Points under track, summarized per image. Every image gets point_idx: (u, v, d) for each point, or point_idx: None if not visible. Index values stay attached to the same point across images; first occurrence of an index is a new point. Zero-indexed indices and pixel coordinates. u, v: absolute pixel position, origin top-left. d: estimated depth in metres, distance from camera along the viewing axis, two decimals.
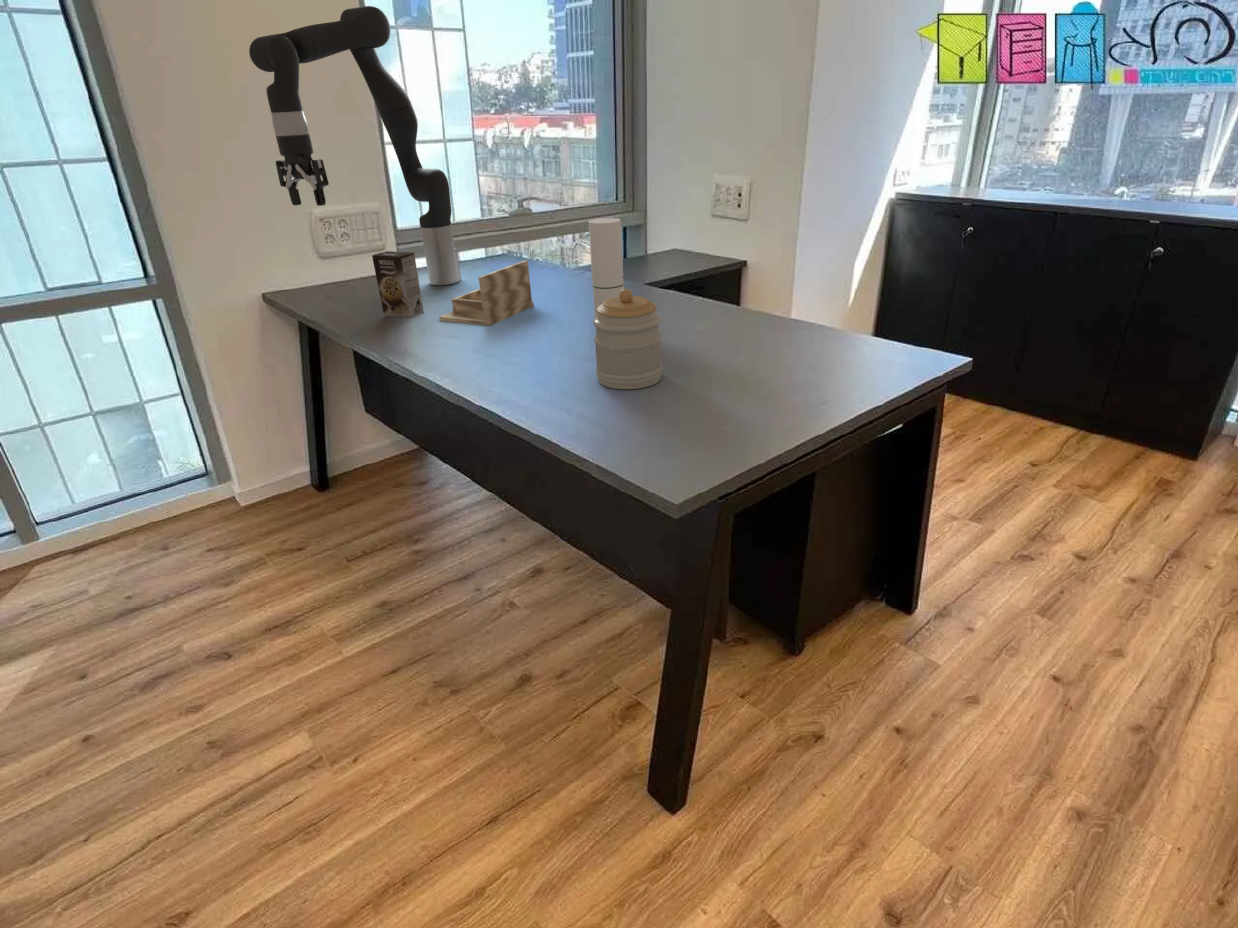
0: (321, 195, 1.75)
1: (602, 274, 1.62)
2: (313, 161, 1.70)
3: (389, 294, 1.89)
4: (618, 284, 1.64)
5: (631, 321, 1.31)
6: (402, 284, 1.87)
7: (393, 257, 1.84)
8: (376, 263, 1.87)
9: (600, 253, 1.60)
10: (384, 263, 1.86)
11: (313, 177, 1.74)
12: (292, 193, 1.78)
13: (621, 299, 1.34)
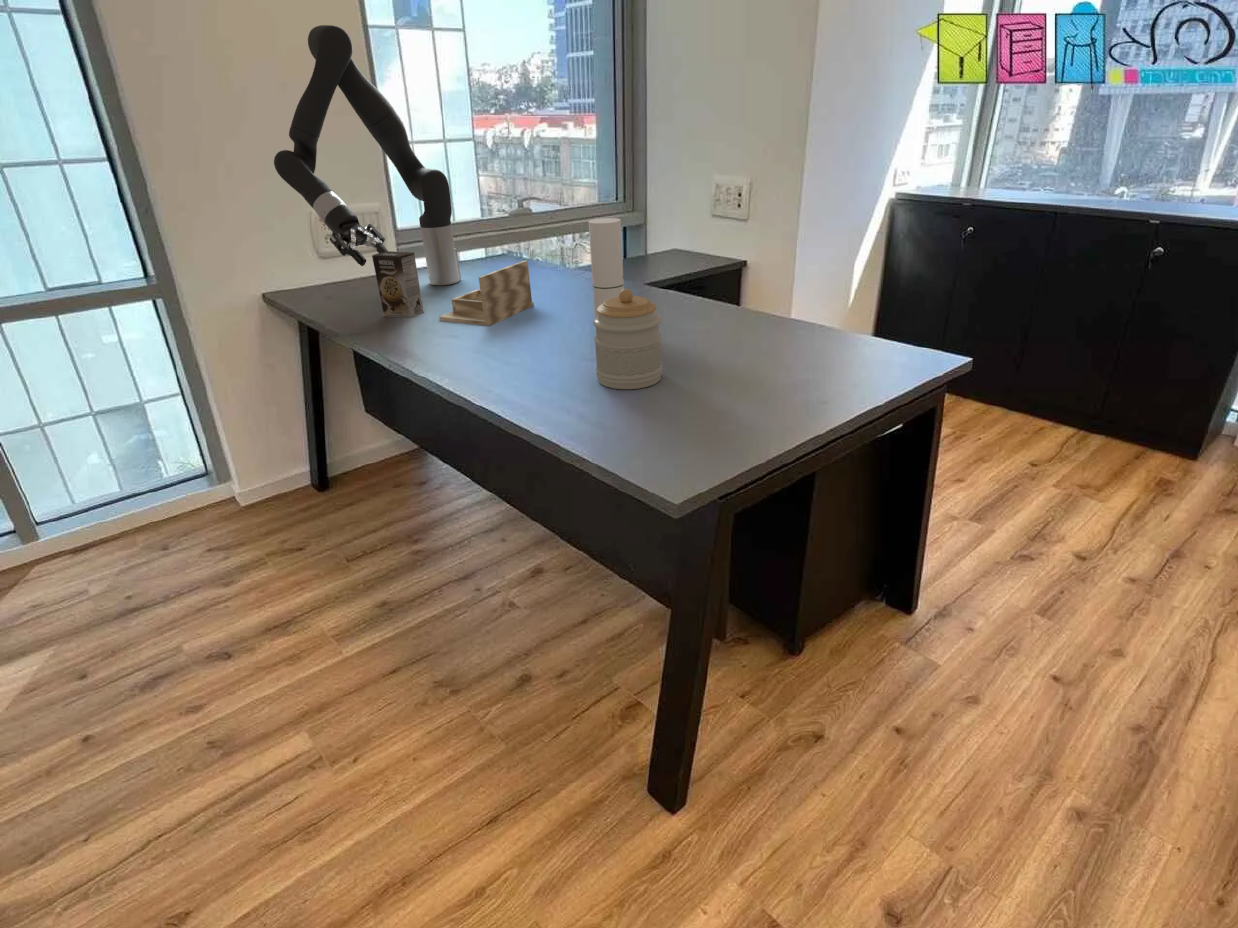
0: (355, 258, 1.87)
1: (602, 274, 1.62)
2: None
3: (389, 294, 1.89)
4: (618, 284, 1.64)
5: (631, 321, 1.31)
6: (402, 284, 1.87)
7: (393, 257, 1.84)
8: (376, 263, 1.87)
9: (600, 253, 1.60)
10: (384, 263, 1.86)
11: (348, 245, 1.88)
12: (378, 251, 1.94)
13: (621, 299, 1.34)
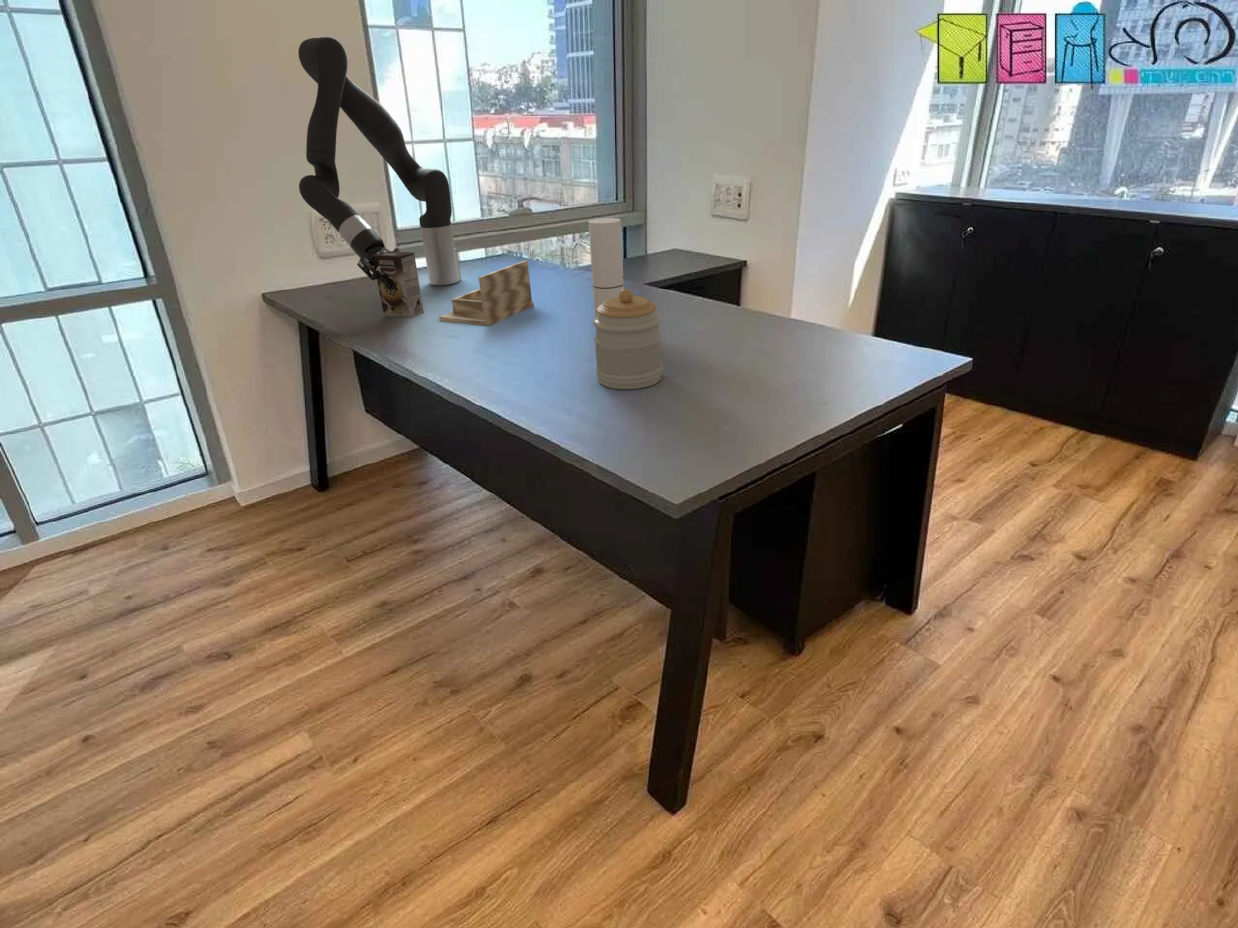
0: (384, 283, 1.87)
1: (602, 274, 1.62)
2: None
3: (389, 294, 1.89)
4: (618, 284, 1.64)
5: (631, 321, 1.31)
6: (402, 284, 1.87)
7: (393, 257, 1.84)
8: (377, 263, 1.87)
9: (600, 253, 1.60)
10: (384, 263, 1.86)
11: (376, 269, 1.87)
12: None
13: (621, 299, 1.34)
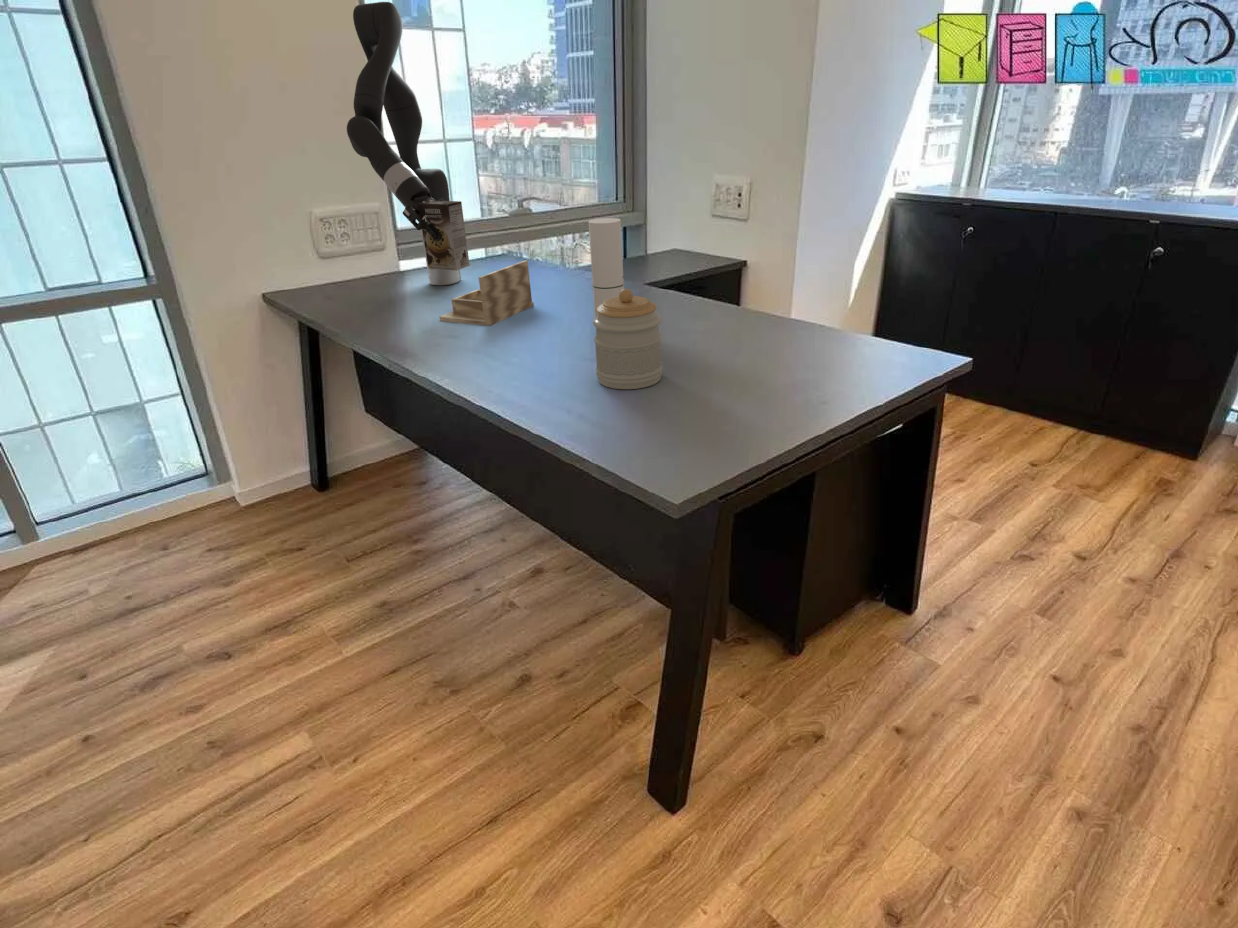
0: (430, 233, 1.79)
1: (602, 274, 1.62)
2: None
3: (435, 245, 1.82)
4: (618, 284, 1.64)
5: (631, 321, 1.31)
6: (448, 234, 1.79)
7: (440, 205, 1.76)
8: (422, 212, 1.79)
9: (600, 253, 1.60)
10: (430, 211, 1.78)
11: (422, 219, 1.80)
12: None
13: (621, 299, 1.34)
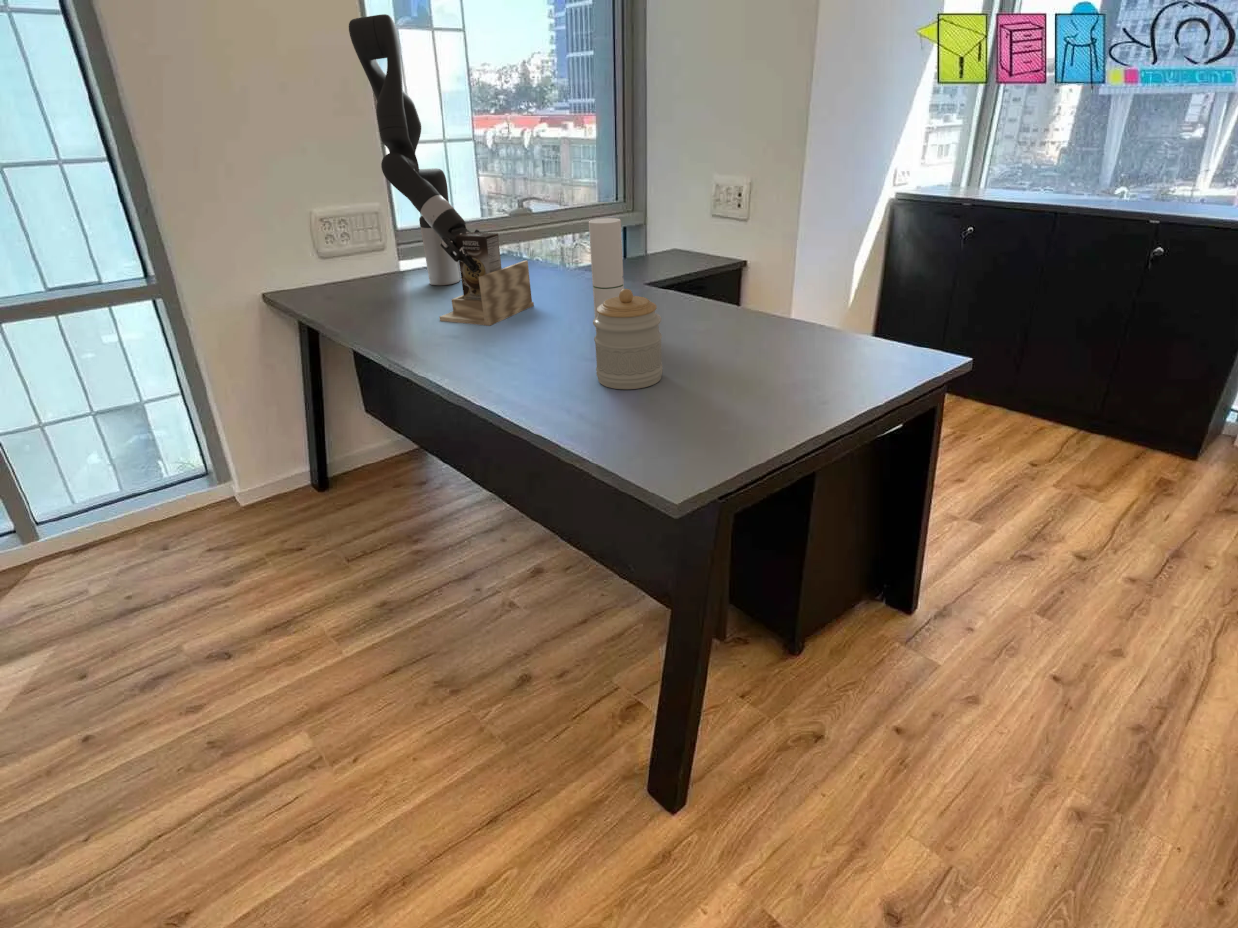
0: (467, 264, 1.81)
1: (602, 274, 1.62)
2: None
3: (472, 276, 1.84)
4: (618, 284, 1.64)
5: (631, 321, 1.31)
6: (486, 266, 1.81)
7: (478, 237, 1.79)
8: (460, 244, 1.81)
9: (600, 253, 1.60)
10: (468, 243, 1.80)
11: (459, 251, 1.82)
12: None
13: (621, 299, 1.34)
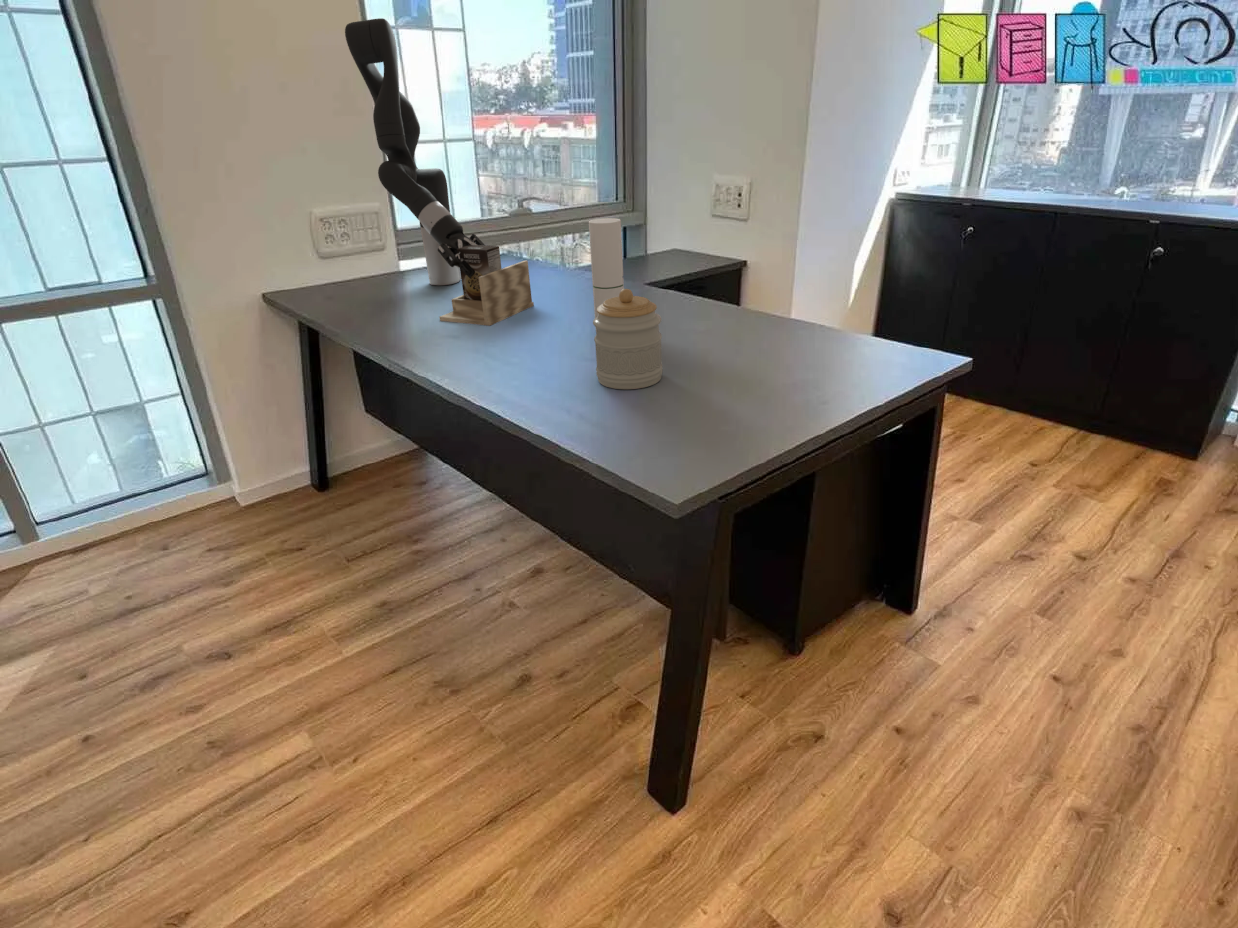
0: (463, 269, 1.83)
1: (602, 274, 1.62)
2: None
3: (473, 288, 1.86)
4: (618, 284, 1.64)
5: (631, 321, 1.31)
6: None
7: (479, 251, 1.80)
8: None
9: (600, 253, 1.60)
10: (469, 256, 1.82)
11: (456, 256, 1.84)
12: None
13: (621, 299, 1.34)
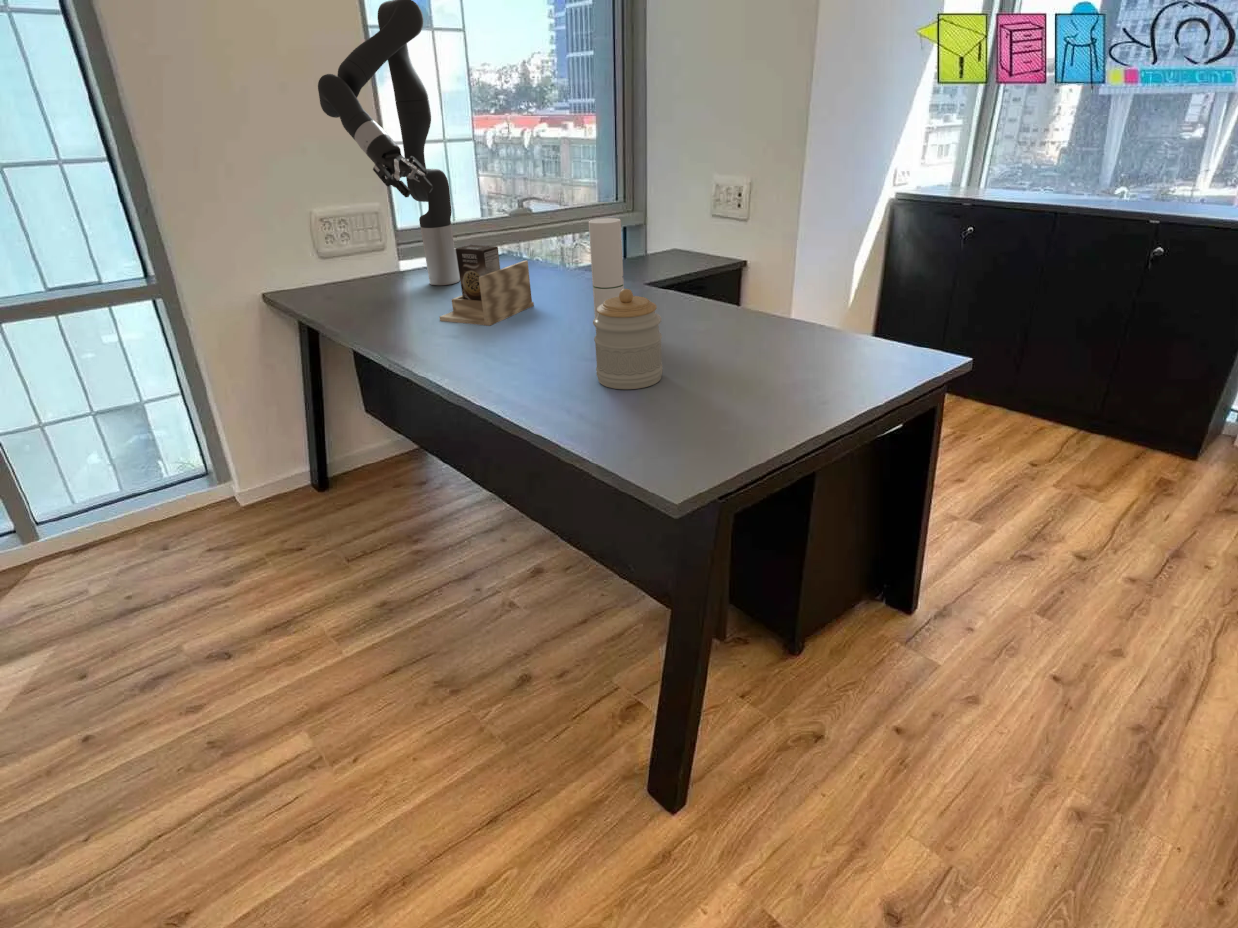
0: (399, 189, 1.81)
1: (602, 274, 1.62)
2: None
3: (471, 288, 1.86)
4: (618, 284, 1.64)
5: (631, 321, 1.31)
6: None
7: (476, 251, 1.80)
8: (460, 257, 1.83)
9: (600, 253, 1.60)
10: (467, 256, 1.82)
11: (392, 176, 1.82)
12: (421, 184, 1.88)
13: (621, 299, 1.34)
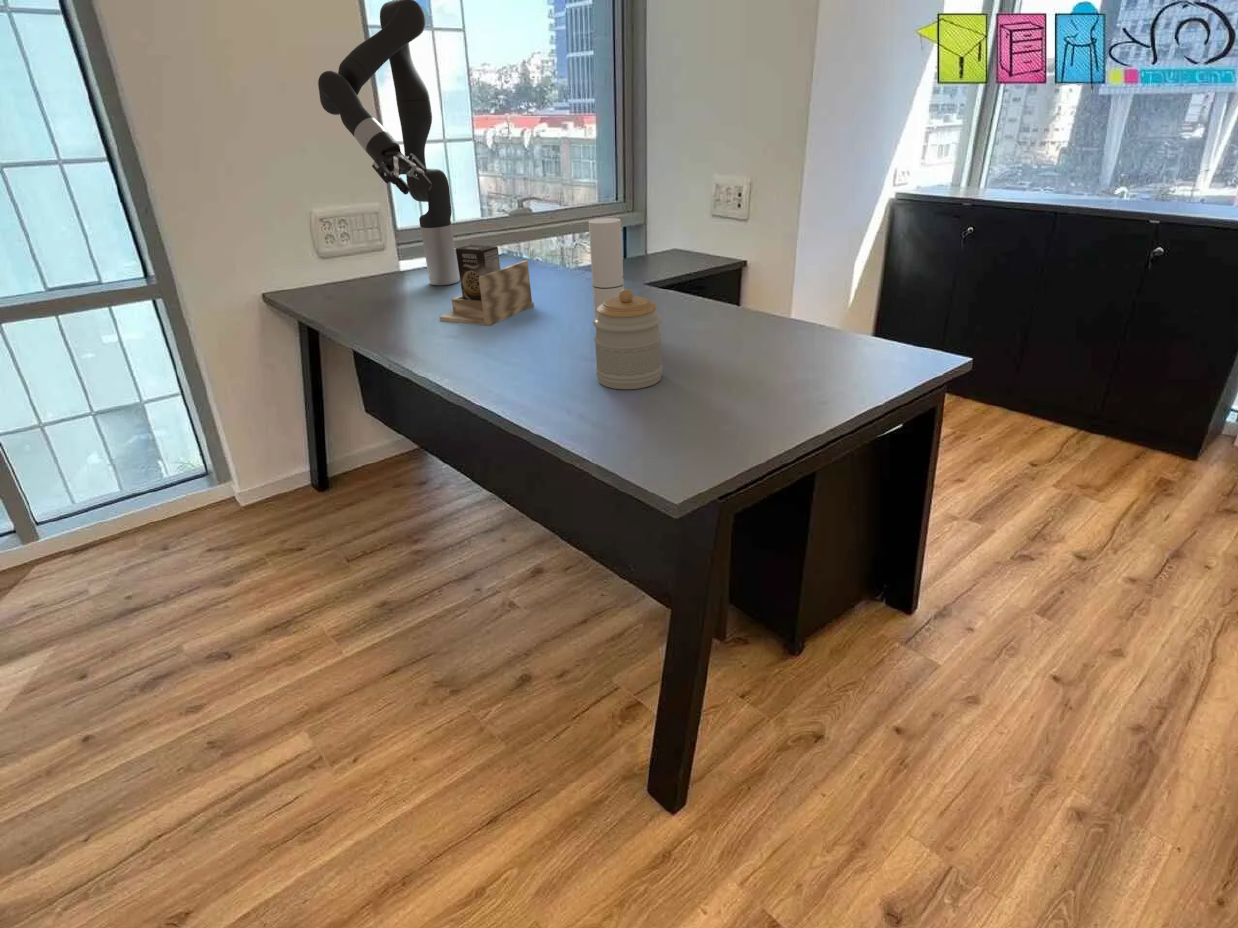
0: (398, 186, 1.80)
1: (602, 274, 1.62)
2: None
3: (471, 288, 1.86)
4: (618, 284, 1.64)
5: (631, 321, 1.31)
6: None
7: (476, 251, 1.80)
8: (460, 257, 1.83)
9: (600, 253, 1.60)
10: (467, 256, 1.82)
11: (391, 173, 1.81)
12: (420, 182, 1.88)
13: (621, 299, 1.34)
